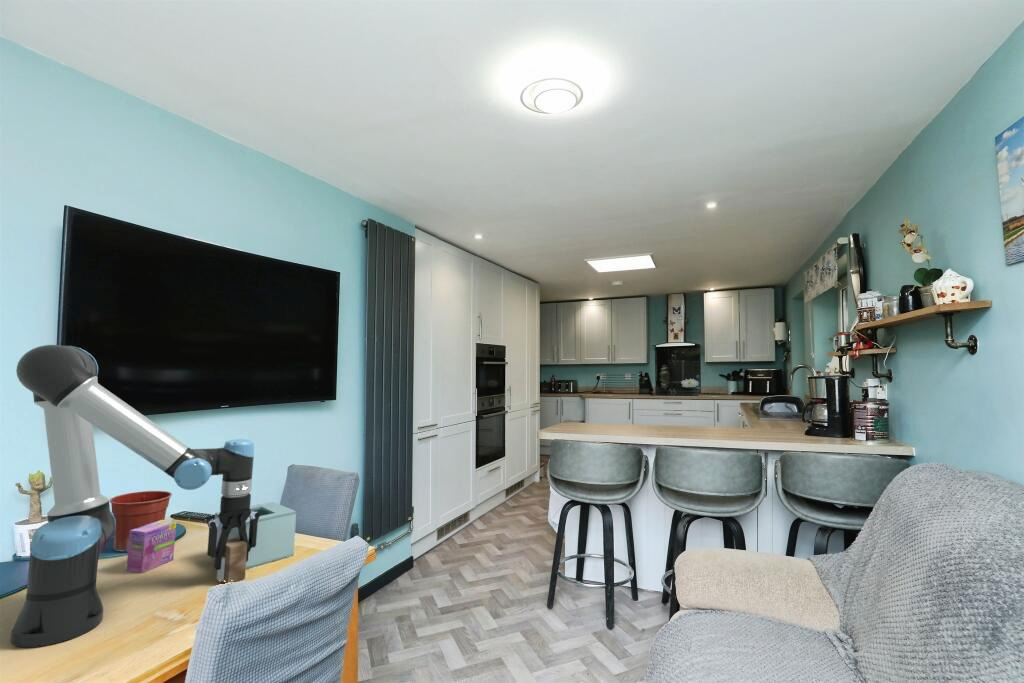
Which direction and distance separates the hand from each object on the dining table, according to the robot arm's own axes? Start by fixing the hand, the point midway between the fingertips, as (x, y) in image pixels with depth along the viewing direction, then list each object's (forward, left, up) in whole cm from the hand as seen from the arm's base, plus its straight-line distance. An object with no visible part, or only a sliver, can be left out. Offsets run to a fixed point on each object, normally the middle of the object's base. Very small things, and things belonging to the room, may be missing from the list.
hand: (230, 577), depth 136 cm
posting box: (+11, +11, 0) cm, 16 cm away
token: (0, 0, 0) cm, 0 cm away
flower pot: (-10, +47, -1) cm, 48 cm away
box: (-12, +26, -1) cm, 29 cm away
